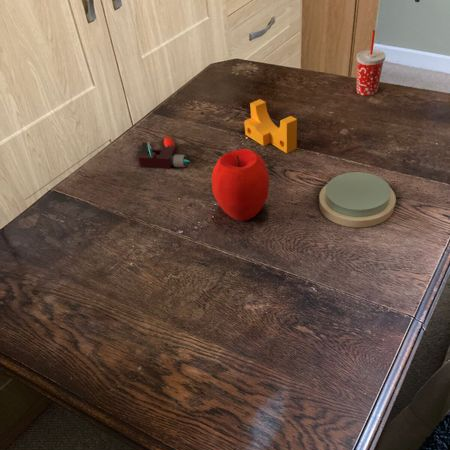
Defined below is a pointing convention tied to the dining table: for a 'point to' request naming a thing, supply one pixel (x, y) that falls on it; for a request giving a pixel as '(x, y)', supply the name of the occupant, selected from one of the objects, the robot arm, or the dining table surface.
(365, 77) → the beverage cup
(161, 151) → the toy gun
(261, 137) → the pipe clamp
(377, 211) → the round push button
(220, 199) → the apple
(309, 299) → the dining table surface
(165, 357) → the dining table surface
